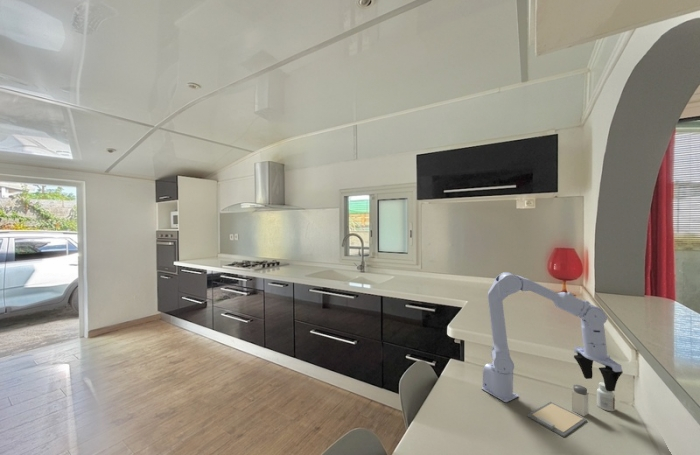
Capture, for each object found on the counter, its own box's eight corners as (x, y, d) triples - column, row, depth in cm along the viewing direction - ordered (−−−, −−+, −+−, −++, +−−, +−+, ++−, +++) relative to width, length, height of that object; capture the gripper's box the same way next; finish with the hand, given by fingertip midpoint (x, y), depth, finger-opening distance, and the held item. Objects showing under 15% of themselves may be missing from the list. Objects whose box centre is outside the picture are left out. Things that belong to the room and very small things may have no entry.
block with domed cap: (571, 410, 89) (571, 386, 89) (576, 407, 91) (576, 383, 91) (584, 416, 86) (584, 391, 86) (588, 413, 88) (588, 388, 88)
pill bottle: (618, 412, 88) (618, 389, 89) (602, 410, 89) (602, 387, 89) (608, 404, 93) (608, 382, 93) (593, 402, 93) (593, 380, 94)
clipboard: (526, 416, 85) (526, 412, 85) (550, 402, 93) (550, 399, 93) (563, 437, 77) (563, 433, 77) (586, 420, 84) (586, 417, 84)
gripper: (629, 349, 81) (634, 395, 80) (586, 333, 95) (590, 372, 94) (606, 351, 81) (611, 397, 80) (566, 334, 95) (571, 373, 94)
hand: (598, 384), depth 87 cm, fingers open, 7 cm apart
